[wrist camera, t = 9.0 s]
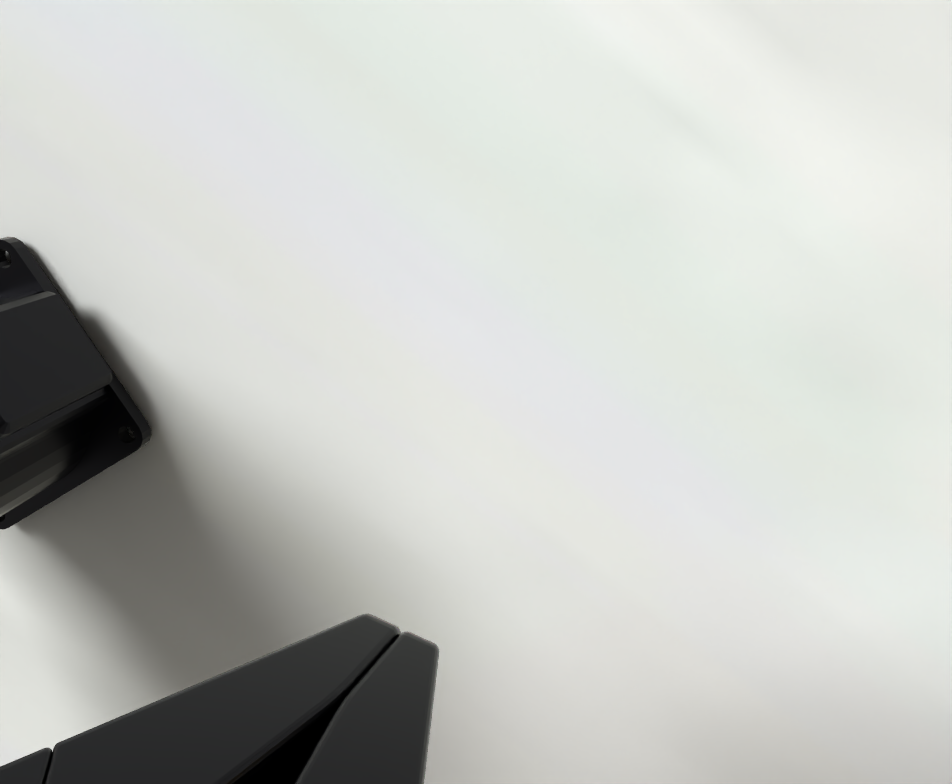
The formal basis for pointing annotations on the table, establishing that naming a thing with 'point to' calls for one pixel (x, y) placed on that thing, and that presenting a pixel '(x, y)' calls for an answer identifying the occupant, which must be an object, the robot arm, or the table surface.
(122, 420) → the robot arm
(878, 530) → the table surface
